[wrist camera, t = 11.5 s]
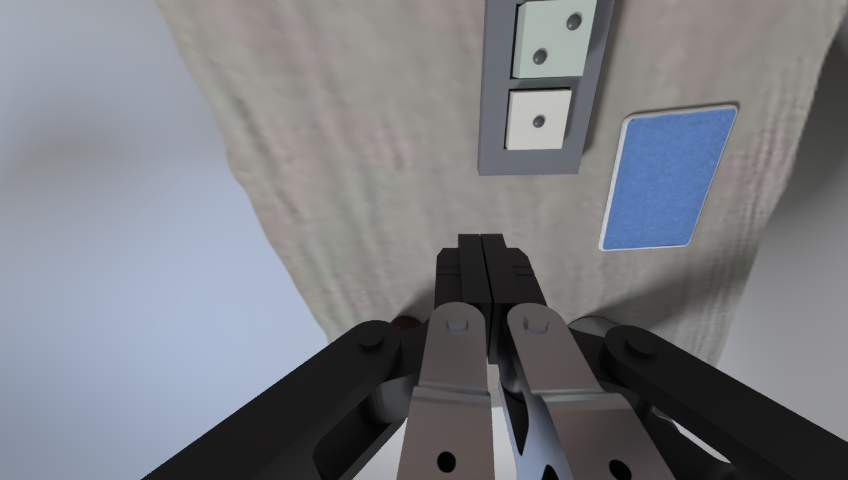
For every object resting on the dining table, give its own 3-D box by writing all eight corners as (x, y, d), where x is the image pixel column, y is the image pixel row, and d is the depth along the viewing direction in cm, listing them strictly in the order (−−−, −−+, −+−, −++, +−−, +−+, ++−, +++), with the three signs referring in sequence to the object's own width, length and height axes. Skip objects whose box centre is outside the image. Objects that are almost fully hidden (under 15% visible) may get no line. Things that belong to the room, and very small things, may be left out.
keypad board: (633, -153, 27) (653, -175, 24) (569, 166, 41) (577, 173, 38) (491, -140, 28) (496, -160, 25) (477, 168, 42) (479, 175, 39)
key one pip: (561, 87, 36) (572, 90, 33) (552, 141, 39) (561, 149, 36) (507, 89, 36) (513, 93, 33) (503, 142, 39) (508, 150, 36)
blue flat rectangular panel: (684, 243, 46) (690, 247, 45) (595, 248, 48) (598, 253, 47) (734, 102, 37) (743, 103, 36) (620, 114, 38) (625, 116, 37)
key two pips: (582, 3, 30) (598, -3, 27) (570, 73, 33) (583, 75, 30) (518, 7, 31) (527, 1, 27) (512, 76, 34) (519, 78, 30)
